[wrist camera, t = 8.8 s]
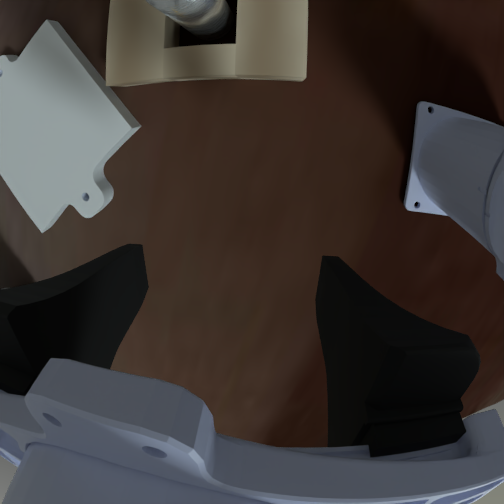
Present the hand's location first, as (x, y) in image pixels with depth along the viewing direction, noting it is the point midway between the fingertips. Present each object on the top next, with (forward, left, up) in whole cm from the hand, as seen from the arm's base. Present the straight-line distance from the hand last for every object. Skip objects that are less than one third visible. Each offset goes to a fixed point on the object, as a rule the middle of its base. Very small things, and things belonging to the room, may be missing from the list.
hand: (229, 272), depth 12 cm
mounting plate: (+17, -6, -11) cm, 21 cm away
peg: (+3, -12, -10) cm, 16 cm away
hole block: (+3, -12, -10) cm, 16 cm away
